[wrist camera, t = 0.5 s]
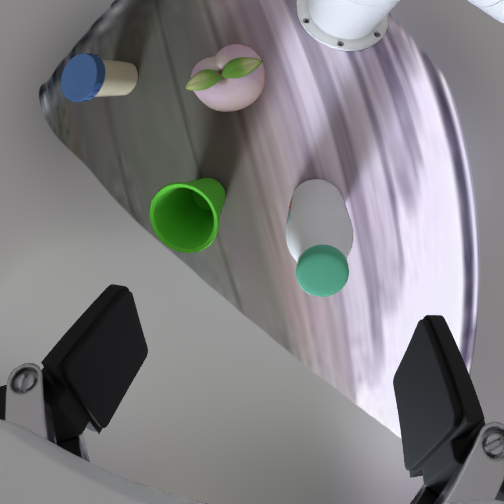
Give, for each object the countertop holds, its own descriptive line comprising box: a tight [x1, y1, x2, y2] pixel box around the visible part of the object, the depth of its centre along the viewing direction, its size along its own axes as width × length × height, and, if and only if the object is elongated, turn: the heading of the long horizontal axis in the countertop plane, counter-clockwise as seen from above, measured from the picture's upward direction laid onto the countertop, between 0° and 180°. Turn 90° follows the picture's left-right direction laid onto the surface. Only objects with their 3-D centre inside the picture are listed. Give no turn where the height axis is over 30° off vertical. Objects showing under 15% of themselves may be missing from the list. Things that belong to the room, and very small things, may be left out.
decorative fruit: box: [185, 44, 265, 112], centre depth 32 cm, size 9×8×10 cm
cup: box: [150, 178, 226, 253], centre depth 40 cm, size 9×9×11 cm
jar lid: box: [61, 53, 105, 102], centre depth 29 cm, size 7×7×2 cm
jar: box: [94, 59, 138, 97], centre depth 33 cm, size 6×6×11 cm
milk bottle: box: [286, 179, 353, 297], centre depth 34 cm, size 8×8×20 cm
